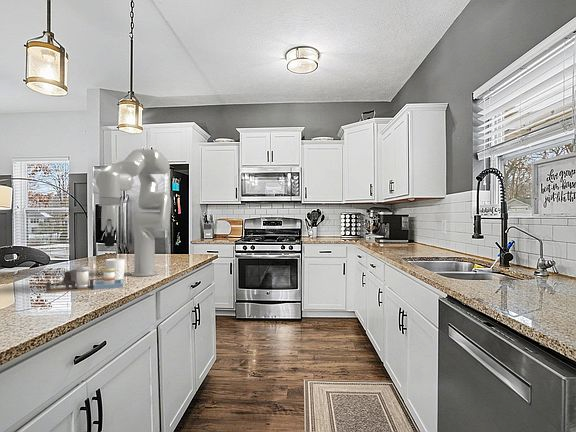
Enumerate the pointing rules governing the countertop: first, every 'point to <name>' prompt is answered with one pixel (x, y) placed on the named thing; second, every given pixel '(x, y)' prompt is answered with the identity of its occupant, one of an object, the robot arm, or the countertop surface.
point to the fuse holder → (66, 287)
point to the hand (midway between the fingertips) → (109, 245)
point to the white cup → (117, 266)
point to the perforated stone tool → (70, 276)
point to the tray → (108, 285)
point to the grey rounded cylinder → (82, 277)
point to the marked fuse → (109, 275)
